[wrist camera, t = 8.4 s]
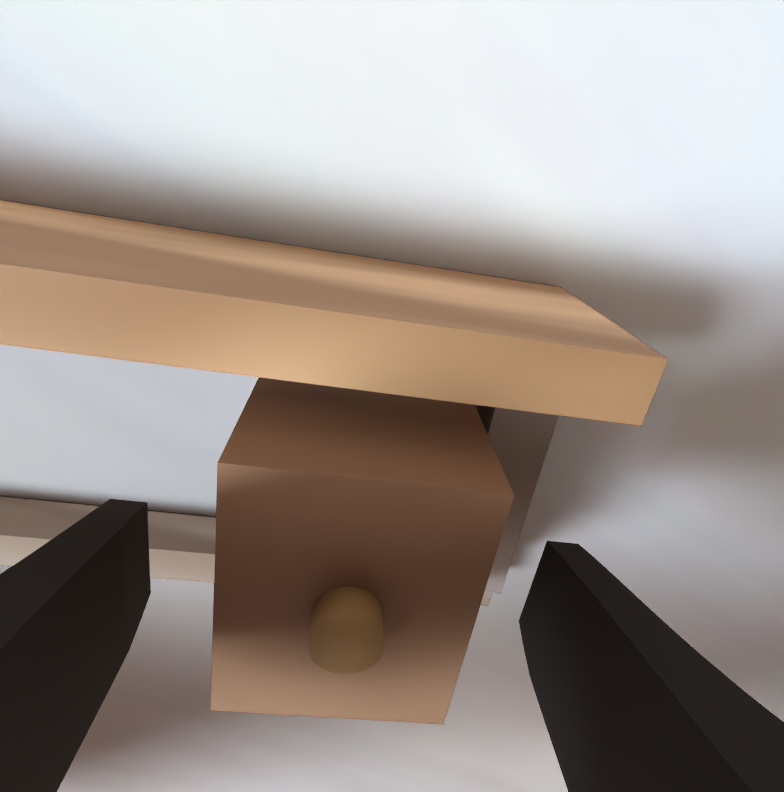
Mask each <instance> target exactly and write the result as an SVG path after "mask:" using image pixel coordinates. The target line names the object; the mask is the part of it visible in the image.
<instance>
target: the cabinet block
mask: <svg viewBox="0 0 784 792" xmlns="http://www.w3.org/2000/svg"><path fill="white" fill-rule="evenodd" d="M513 498H514V494H513V491H512V489H511V487H510V484H509V482H508V480H507V478H506V475H505V473H504V471H503V468H502V466H501V464H500V462H499V459H498V457H497V455H496V453H495V450H494V448H493V446H492V443H491V441H490V439H489V437H488V434H487V432H486V430H485V427H484V425H483V423H482V421H481V418H480V416H479V414H478V411H477V409H476V407H475V405H474V404H466V403H458V402H450V401H442V400H434V399H426V398H419V397H411V396H403V395H395V394H387V393H379V392H372V391H364V390H356V389H348V388H340V387H332V386H324V385H317V384H309V383H301V382H293V381H285V380H277V379H269V378H262V377H259V378H258V380H257V382H256V385H255V387H254V389H253V391H252V393H251V395H250V397H249V399H248V401H247V403H246V405H245V407H244V409H243V411H242V414H241V416H240V418H239V420H238V422H237V424H236V426H235V428H234V430H233V432H232V434H231V436H230V438H229V440H228V442H227V445H226V447H225V449H224V451H223V453H222V455H221V457H220V459H219V461H218V471H217V505H216V539H215V573H214V607H213V642H212V676H211V710H216V711H232V712H249V713H265V714H282V715H298V716H314V717H331V718H347V719H364V720H380V721H397V722H413V723H430V724H444V721H445V717H446V714H447V711H448V708H449V705H450V701H451V698H452V695H453V692H454V688H455V685H456V682H457V679H458V676H459V672H460V669H461V666H462V663H463V659H464V656H465V653H466V650H467V646H468V643H469V640H470V637H471V634H472V630H473V627H474V624H475V621H476V617H477V614H478V611H479V608H480V605H481V601H482V598H483V595H484V592H485V588H486V585H487V582H488V579H489V576H490V572H491V569H492V566H493V563H494V559H495V556H496V553H497V550H498V547H499V543H500V540H501V537H502V534H503V530H504V527H505V524H506V521H507V517H508V514H509V511H510V508H511V505H512V501H513Z"/></svg>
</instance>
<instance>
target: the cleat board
mask: <svg viewBox="0 0 784 792" xmlns="http://www.w3.org/2000/svg"><path fill="white" fill-rule="evenodd" d="M0 344H2V345H10V346H18V347H26V348H34V349H42V350H49V351H57V352H65V353H73V354H81V355H89V356H97V357H104V358H112V359H120V360H128V361H136V362H144V363H152V364H159V365H167V366H175V367H183V368H191V369H199V370H207V371H214V372H222V373H230V374H238V375H246V376H254V377H262V378H269V379H277V380H285V381H293V382H301V383H309V384H317V385H324V386H332V387H340V388H348V389H356V390H364V391H372V392H379V393H387V394H395V395H403V396H411V397H419V398H426V399H434V400H442V401H450V402H458V403H466V404H474V405H475V407H476V409H477V411H478V414H479V416H480V418H481V421H482V423H483V425H484V427H485V430H486V432H487V434H488V437H489V439H490V441H491V443H492V446H493V448H494V450H495V453H496V455H497V457H498V459H499V462H500V464H501V466H502V468H503V471H504V473H505V475H506V478H507V480H508V482H509V484H510V487H511V489H512V491H513V494H514V498H513V501H512V505H511V508H510V511H509V514H508V517H507V521H506V524H505V527H504V530H503V534H502V537H501V540H500V543H499V547H498V550H497V553H496V556H495V559H494V563H493V566H492V569H491V572H490V576H489V579H488V582H487V585H486V588H485V592H484V595H483V598H482V601H481V606H488V605H489V602H490V599H491V595H492V593H501V591H502V587H503V584H504V581H505V578H506V575H507V572H508V569H509V566H510V563H511V560H512V557H513V554H514V551H515V547H516V544H517V541H518V538H519V535H520V532H521V529H522V526H523V523H524V520H525V517H526V514H527V511H528V507H529V504H530V501H531V498H532V495H533V492H534V489H535V486H536V483H537V480H538V477H539V474H540V471H541V467H542V464H543V461H544V458H545V455H546V452H547V449H548V446H549V443H550V440H551V437H552V434H553V431H554V427H555V424H556V421H557V418H558V415H560V416H568V417H576V418H584V419H591V420H599V421H607V422H615V423H623V424H631V425H639V426H642V423H643V421H644V418H645V416H646V413H647V411H648V408H649V406H650V403H651V401H652V398H653V396H654V393H655V391H656V388H657V386H658V384H659V381H660V379H661V376H662V374H663V371H664V369H665V366H666V364H667V361H668V359H667V358H666V357H664V356H663V355H661V354H660V353H658V352H657V351H655V350H654V349H652V348H651V347H649V346H648V345H646V344H645V343H643V342H642V341H640V340H639V339H637V338H636V337H634V336H633V335H631V334H630V333H628V332H627V331H625V330H624V329H622V328H621V327H619V326H618V325H616V324H615V323H613V322H612V321H610V320H609V319H607V318H606V317H604V316H603V315H601V314H600V313H598V312H597V311H595V310H594V309H593V308H591V307H590V306H588V305H587V304H585V303H584V302H582V301H581V300H579V299H578V298H576V297H575V296H573V295H572V294H570V293H569V292H567V291H566V290H564V289H563V288H561V287H556V286H550V285H543V284H537V283H530V282H524V281H518V280H511V279H505V278H498V277H492V276H485V275H479V274H472V273H466V272H460V271H453V270H447V269H440V268H434V267H427V266H421V265H414V264H408V263H402V262H395V261H389V260H382V259H376V258H369V257H363V256H356V255H350V254H344V253H337V252H331V251H324V250H318V249H311V248H305V247H298V246H292V245H285V244H279V243H273V242H266V241H260V240H253V239H247V238H240V237H234V236H227V235H221V234H215V233H208V232H202V231H195V230H189V229H182V228H176V227H169V226H163V225H157V224H150V223H144V222H137V221H131V220H124V219H118V218H111V217H105V216H99V215H92V214H86V213H79V212H73V211H66V210H60V209H53V208H47V207H41V206H34V205H28V204H21V203H15V202H8V201H2V200H0ZM98 507H99V506H93V505H83V504H73V503H63V502H52V501H42V500H32V499H22V498H11V497H1V496H0V565H8V566H13V565H15V564H16V563H18V562H19V561H21V560H22V559H24V558H25V557H27V556H28V555H30V554H31V553H33V552H34V551H36V550H37V549H39V548H40V547H41V546H43V545H44V544H46V543H47V542H49V541H50V540H52V539H53V538H54V537H56V536H57V535H59V534H60V533H62V532H63V531H65V530H66V529H67V528H69V527H70V526H72V525H73V524H75V523H76V522H77V521H79V520H80V519H82V518H83V517H85V516H86V515H88V514H89V513H90V512H92V511H93V510H95V509H96V508H98ZM148 536H149V563H150V578H162V579H174V580H186V581H197V582H209V583H214V573H215V539H216V517H206V516H195V515H185V514H175V513H165V512H155V511H148Z"/></svg>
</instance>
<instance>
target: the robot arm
mask: <svg viewBox="0 0 784 792" xmlns="http://www.w3.org/2000/svg"><path fill="white" fill-rule="evenodd" d="M150 593H151V590H150V563H149V536H148V508H147V503H146V502H135V501H125V500H114V499H110V500H108V501H107V502H105V503H104V504H102V505H101V506H99V507H98V508H96V509H95V510H93V511H92V512H90V513H89V514H88V515H86V516H85V517H83V518H82V519H80V520H79V521H77V522H76V523H75V524H73V525H72V526H70V527H69V528H67V529H66V530H65V531H63V532H62V533H60V534H59V535H57V536H56V537H54V538H53V539H52V540H50V541H49V542H47V543H46V544H44V545H43V546H41V547H40V548H39V549H37V550H36V551H34V552H33V553H31V554H30V555H28V556H27V557H25V558H24V559H22V560H21V561H19V562H18V563H16V564H15V565H13V566H12V567H10V568H9V569H7V570H6V571H4V572H3V573H1V574H0V792H57V790H58V788H59V786H60V784H61V782H62V780H63V778H64V776H65V774H66V772H67V771H68V769H69V767H70V765H71V763H72V761H73V759H74V757H75V755H76V753H77V751H78V749H79V747H80V745H81V743H82V741H83V739H84V738H85V736H86V734H87V732H88V730H89V728H90V726H91V724H92V722H93V720H94V718H95V716H96V714H97V712H98V710H99V708H100V707H101V705H102V703H103V701H104V699H105V697H106V695H107V693H108V691H109V689H110V687H111V685H112V683H113V681H114V679H115V677H116V675H117V673H118V671H119V669H120V667H121V665H122V663H123V661H124V659H125V657H126V655H127V653H128V651H129V649H130V646H131V644H132V641H133V639H134V636H135V633H136V631H137V628H138V626H139V623H140V620H141V618H142V615H143V612H144V609H145V607H146V604H147V601H148V598H149V596H150ZM519 624H520V629H521V635H522V640H523V645H524V651H525V655H526V660H527V664H528V669H529V673H530V677H531V681H532V684H533V687H534V690H535V693H536V696H537V699H538V702H539V705H540V708H541V711H542V714H543V717H544V720H545V724H546V726H547V729H548V732H549V735H550V738H551V741H552V744H553V747H554V750H555V753H556V756H557V759H558V762H559V765H560V768H561V771H562V774H563V777H564V780H565V783H566V786H567V789H568V792H784V722H783V721H781V720H780V719H779V718H777V717H776V716H775V715H773V714H772V713H771V712H770V711H768V710H767V709H766V708H764V707H763V706H762V705H761V704H759V703H758V702H757V701H756V700H754V699H753V698H752V697H751V696H749V695H748V694H747V693H746V692H744V691H743V690H742V689H741V688H740V687H738V686H737V685H736V684H735V683H734V682H732V681H731V680H730V679H729V678H728V677H726V676H725V675H724V674H723V673H722V672H721V671H719V670H718V669H717V668H716V667H715V666H713V665H712V664H711V663H710V662H709V661H707V660H706V659H705V658H704V657H703V656H702V655H700V654H699V653H698V652H697V651H696V650H695V649H694V648H692V647H691V646H690V645H689V644H688V643H687V642H686V641H684V640H683V639H682V638H681V637H680V636H679V635H678V634H677V633H676V632H674V631H673V630H672V629H671V628H670V627H669V626H668V625H667V624H666V623H664V622H663V621H662V620H661V619H660V618H659V617H658V616H657V615H656V614H655V613H654V612H652V611H651V610H650V609H649V608H648V607H647V606H646V605H645V604H644V603H643V602H642V601H641V600H639V599H638V598H637V597H636V596H635V595H634V594H633V593H632V592H631V591H630V590H629V589H628V588H627V587H625V586H624V585H623V584H622V583H621V582H620V581H619V580H618V579H617V578H616V577H615V576H614V575H613V574H612V573H610V572H609V571H608V570H607V569H606V568H605V567H604V566H603V565H602V564H601V563H600V562H598V561H597V560H596V559H595V558H594V557H593V556H592V555H591V554H589V553H588V552H587V551H586V550H585V549H584V548H582V547H581V546H580V545H579V544H573V543H563V542H552V541H547V543H546V545H545V548H544V551H543V554H542V557H541V560H540V562H539V565H538V568H537V571H536V574H535V577H534V580H533V582H532V585H531V588H530V591H529V594H528V597H527V599H526V602H525V605H524V608H523V611H522V614H521V617H520V619H519Z"/></svg>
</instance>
